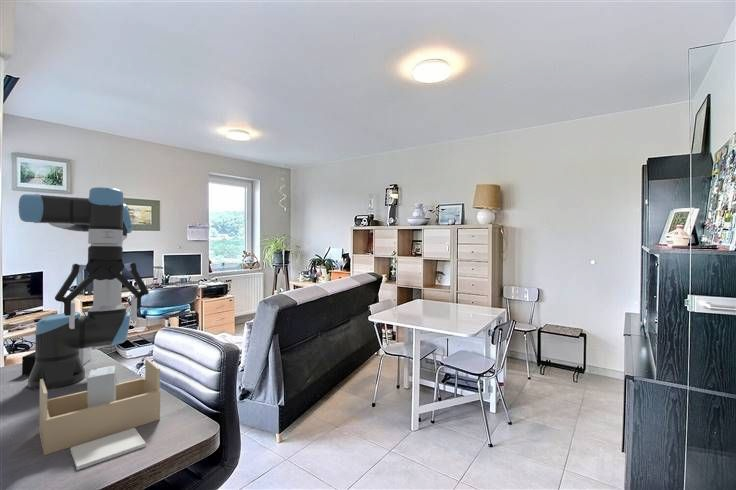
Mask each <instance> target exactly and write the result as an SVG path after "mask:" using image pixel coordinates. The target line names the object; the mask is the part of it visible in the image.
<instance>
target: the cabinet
mask: <svg viewBox="0 0 736 490" xmlns="http://www.w3.org/2000/svg"><path fill="white" fill-rule="evenodd" d="M144 360H145V361H144V363H145V366H144V369H145V371H144V377H142V378H141V377H140V378H138V379H132V380H128V381H125V382H124V381H123V382H119V383H116V401H114V402H110V403H106V404H102V405H98V406H94V407H90V408H88V403H87V390H84V391H79V392H75V393H70V394H65V395H60V396H58V397H52V398H48V389H46V387H45V383H44V380H43V379H40V390H39V415H38V416H39V419H38V423H39V425H38V426H39V427H38V429H39V430H38V432H39V439H40V443H41V447H42V452H43V453H42V454H43V455H44V456H47V455H50V454H53V453H55V452H60V451H62V450H66V449H68V448H71V447H74V446H77V445H80V444H84V443H87V442H90V441H93V440H97V439H100V438H103V437H106V436H110V435H113V434H116V433H119V432H122V431H126V430H129V429H132V428H137V427H140V426H143V425H147V424H149V423H154V422H156V421H159V420H160V419H161V390H160V387H161V368H160V367H159V366H158V365H156V364H155V363H154V362H153V361H152V360H150V359H149V358H145V359H144Z"/></svg>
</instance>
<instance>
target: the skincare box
mask: <svg viewBox="0 0 736 490" xmlns="http://www.w3.org/2000/svg"><path fill="white" fill-rule="evenodd" d="M116 373H117V372H116V365H109V366H104V367H99V368H98V367H97V368H92V369H90V371H89V372H88V376H87V378H86V379H87V383H86V385H87V387H86V388H87V390H86V391H87V403H88V408H90V407H94V406H98V405H102V404H106V403H110V402H114V401H116V384H117V381H116V380H117V379H116V375H117V374H116Z"/></svg>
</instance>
